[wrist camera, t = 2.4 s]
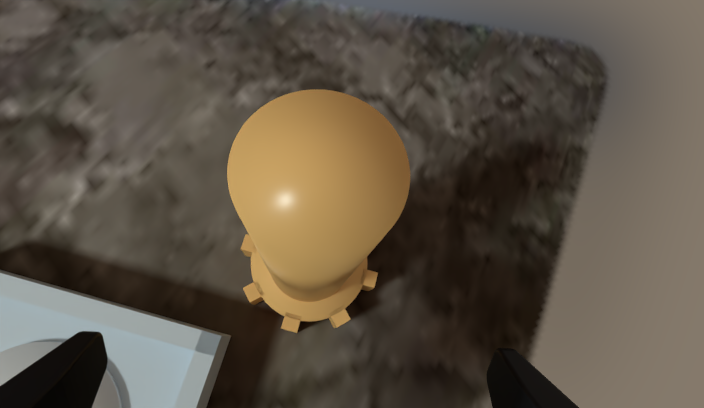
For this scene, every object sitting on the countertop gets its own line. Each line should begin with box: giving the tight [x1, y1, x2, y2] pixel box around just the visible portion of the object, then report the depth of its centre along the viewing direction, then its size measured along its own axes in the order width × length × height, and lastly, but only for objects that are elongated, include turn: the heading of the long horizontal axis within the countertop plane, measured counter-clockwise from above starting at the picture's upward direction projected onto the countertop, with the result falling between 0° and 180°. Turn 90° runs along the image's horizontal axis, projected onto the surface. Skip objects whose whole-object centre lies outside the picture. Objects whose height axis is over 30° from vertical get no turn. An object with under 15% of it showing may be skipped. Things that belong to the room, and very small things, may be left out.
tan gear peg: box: [227, 90, 410, 333], centre depth 15 cm, size 6×6×13 cm
